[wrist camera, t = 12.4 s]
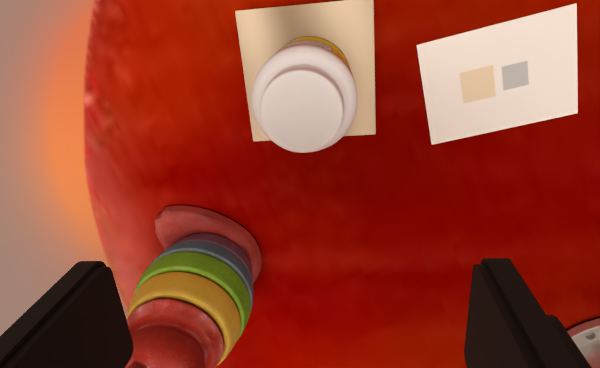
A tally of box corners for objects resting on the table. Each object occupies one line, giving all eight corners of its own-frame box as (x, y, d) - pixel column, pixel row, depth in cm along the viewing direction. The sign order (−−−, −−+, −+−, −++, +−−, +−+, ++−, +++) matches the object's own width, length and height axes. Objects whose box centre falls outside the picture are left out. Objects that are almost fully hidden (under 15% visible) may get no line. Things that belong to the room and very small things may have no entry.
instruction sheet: (575, 3, 29) (576, 3, 29) (577, 112, 32) (578, 113, 32) (416, 45, 31) (416, 45, 31) (431, 144, 34) (431, 144, 34)
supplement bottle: (343, 122, 30) (349, 177, 20) (266, 110, 30) (237, 160, 20) (358, 40, 27) (372, 61, 18) (275, 28, 27) (246, 42, 18)
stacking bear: (155, 202, 38) (20, 350, 22) (263, 208, 38) (206, 366, 21) (168, 296, 43) (63, 476, 27) (265, 303, 42) (218, 492, 26)
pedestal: (369, -2, 30) (373, -3, 26) (371, 119, 33) (375, 134, 30) (247, 9, 31) (234, 10, 27) (262, 126, 35) (253, 141, 31)
